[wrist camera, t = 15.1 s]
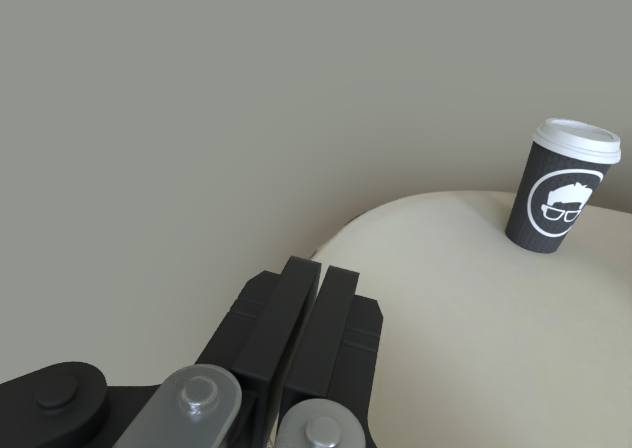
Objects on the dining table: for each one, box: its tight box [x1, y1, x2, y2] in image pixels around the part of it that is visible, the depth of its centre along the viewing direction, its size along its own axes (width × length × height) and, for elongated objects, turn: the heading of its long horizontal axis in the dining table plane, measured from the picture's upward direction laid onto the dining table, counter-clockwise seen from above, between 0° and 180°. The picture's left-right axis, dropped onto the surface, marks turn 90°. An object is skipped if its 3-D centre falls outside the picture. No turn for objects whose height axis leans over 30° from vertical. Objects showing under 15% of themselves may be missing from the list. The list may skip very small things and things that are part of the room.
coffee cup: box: [506, 118, 621, 253], centre depth 53 cm, size 10×10×15 cm
